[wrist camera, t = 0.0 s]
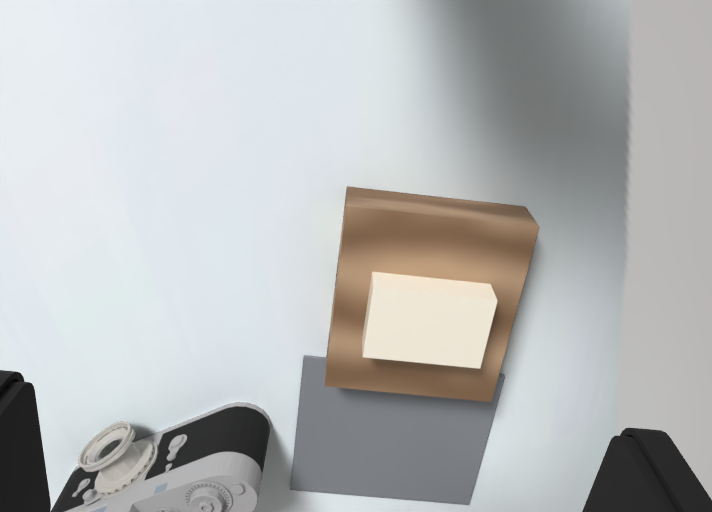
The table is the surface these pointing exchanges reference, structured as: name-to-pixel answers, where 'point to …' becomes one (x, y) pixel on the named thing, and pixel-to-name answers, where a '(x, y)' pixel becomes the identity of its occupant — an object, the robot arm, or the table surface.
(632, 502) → the robot arm
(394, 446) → the mat
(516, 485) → the table surface
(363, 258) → the brown flat block
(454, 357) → the cream rectangular block
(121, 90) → the table surface
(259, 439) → the camera
